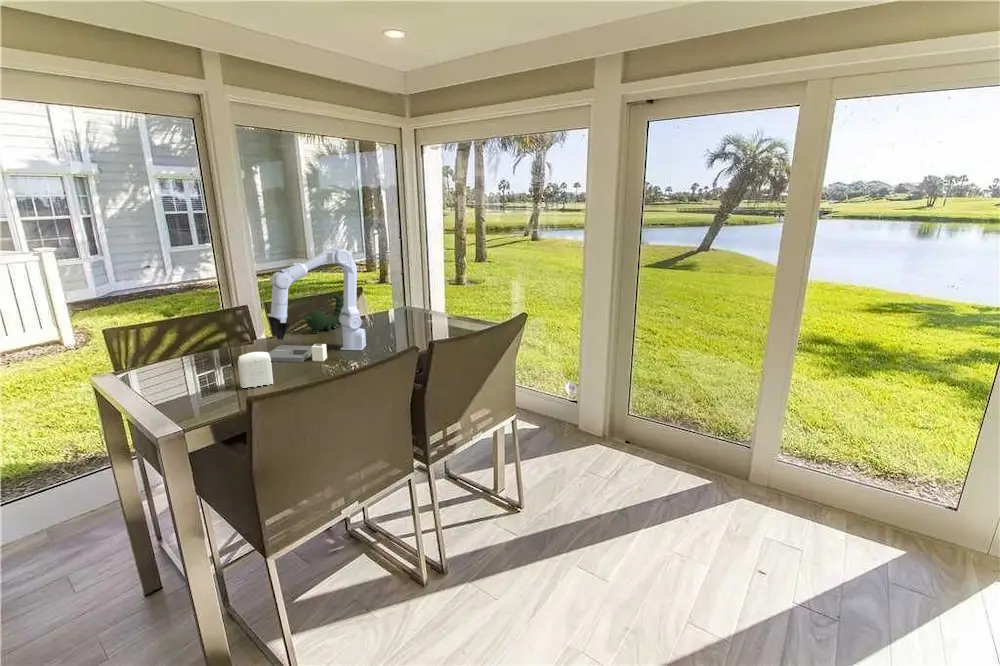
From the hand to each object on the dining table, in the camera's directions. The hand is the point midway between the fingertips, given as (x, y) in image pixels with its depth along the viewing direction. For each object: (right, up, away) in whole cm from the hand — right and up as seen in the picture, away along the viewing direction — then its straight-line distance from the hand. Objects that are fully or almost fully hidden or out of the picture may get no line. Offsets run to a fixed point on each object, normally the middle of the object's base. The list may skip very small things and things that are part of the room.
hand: (277, 337), depth 183 cm
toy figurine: (+1, +3, +49) cm, 49 cm away
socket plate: (0, -8, +11) cm, 13 cm away
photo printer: (+3, -17, -21) cm, 27 cm away
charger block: (+14, -9, +7) cm, 18 cm away
